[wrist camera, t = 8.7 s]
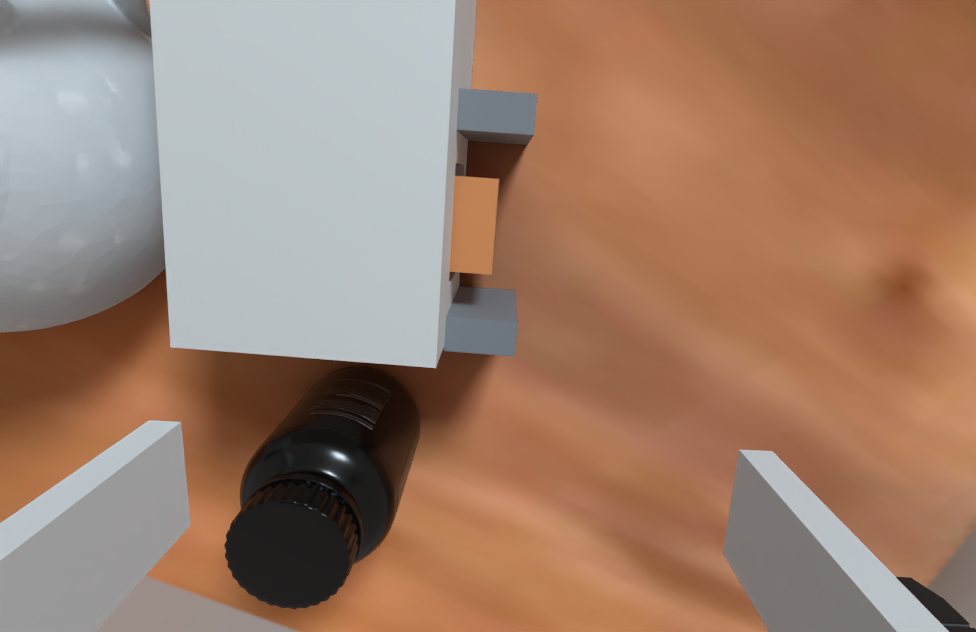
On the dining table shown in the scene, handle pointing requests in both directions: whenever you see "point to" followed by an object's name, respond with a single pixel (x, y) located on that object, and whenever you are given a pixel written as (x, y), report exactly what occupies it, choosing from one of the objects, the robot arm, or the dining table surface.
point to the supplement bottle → (323, 488)
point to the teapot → (76, 160)
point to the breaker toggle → (474, 224)
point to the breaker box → (324, 177)
